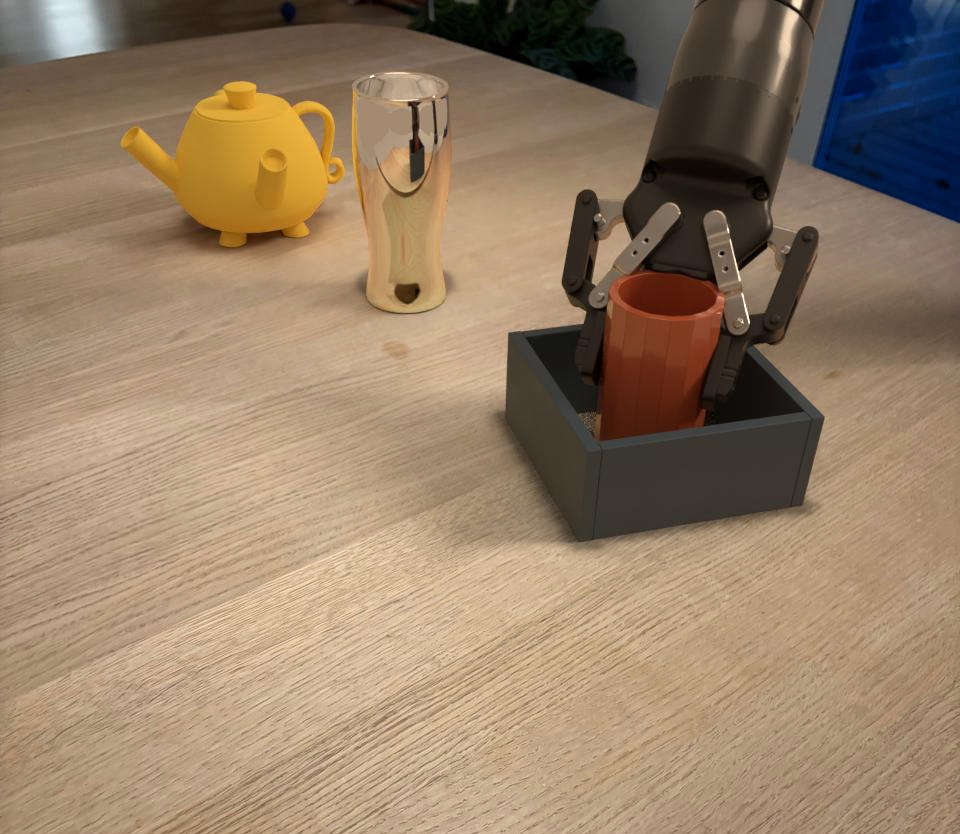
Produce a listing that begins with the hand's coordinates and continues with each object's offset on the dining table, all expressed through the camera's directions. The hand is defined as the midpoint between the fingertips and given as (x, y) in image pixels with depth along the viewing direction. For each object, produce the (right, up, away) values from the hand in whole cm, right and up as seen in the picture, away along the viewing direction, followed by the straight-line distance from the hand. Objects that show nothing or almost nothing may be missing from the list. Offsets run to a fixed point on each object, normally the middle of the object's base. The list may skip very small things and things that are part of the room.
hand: (648, 393), depth 63 cm
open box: (+1, -4, +5) cm, 7 cm away
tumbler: (0, -3, +4) cm, 5 cm away
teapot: (-29, +21, +32) cm, 48 cm away
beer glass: (-15, +12, +23) cm, 30 cm away
